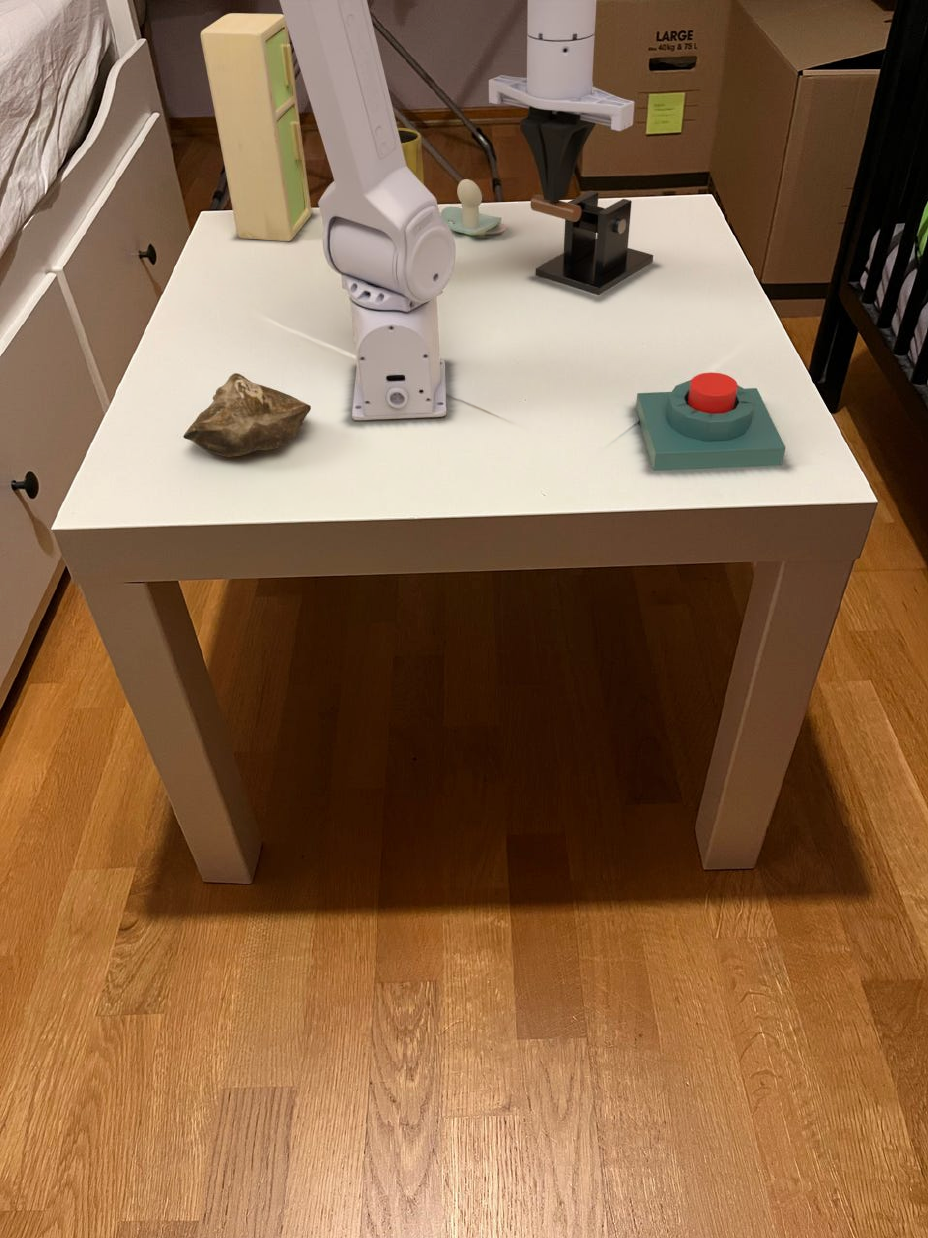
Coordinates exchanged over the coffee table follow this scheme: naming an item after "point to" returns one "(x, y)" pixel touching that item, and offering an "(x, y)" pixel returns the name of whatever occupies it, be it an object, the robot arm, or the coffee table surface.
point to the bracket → (596, 250)
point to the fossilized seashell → (247, 419)
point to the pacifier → (470, 213)
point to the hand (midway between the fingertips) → (555, 197)
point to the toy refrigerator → (258, 123)
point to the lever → (568, 212)
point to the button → (712, 393)
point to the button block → (707, 432)
